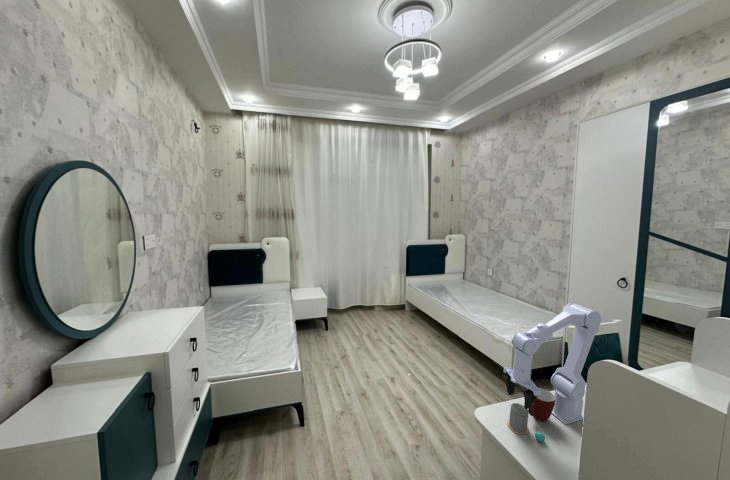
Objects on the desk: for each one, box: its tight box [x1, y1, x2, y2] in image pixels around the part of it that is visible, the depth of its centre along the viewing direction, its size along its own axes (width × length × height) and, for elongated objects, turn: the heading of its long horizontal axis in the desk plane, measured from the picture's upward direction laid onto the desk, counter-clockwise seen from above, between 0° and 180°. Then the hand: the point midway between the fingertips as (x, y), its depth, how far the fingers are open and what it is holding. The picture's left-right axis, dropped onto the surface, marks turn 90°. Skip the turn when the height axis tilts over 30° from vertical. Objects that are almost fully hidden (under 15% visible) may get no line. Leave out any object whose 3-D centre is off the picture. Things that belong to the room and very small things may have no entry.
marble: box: [534, 431, 546, 443], centre depth 100 cm, size 3×3×3 cm
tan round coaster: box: [506, 418, 530, 436], centre depth 106 cm, size 7×7×1 cm
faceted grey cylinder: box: [508, 402, 529, 432], centre depth 105 cm, size 6×6×7 cm
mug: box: [528, 387, 555, 423], centre depth 109 cm, size 10×8×10 cm
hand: (518, 400), depth 106 cm, fingers open, 7 cm apart
